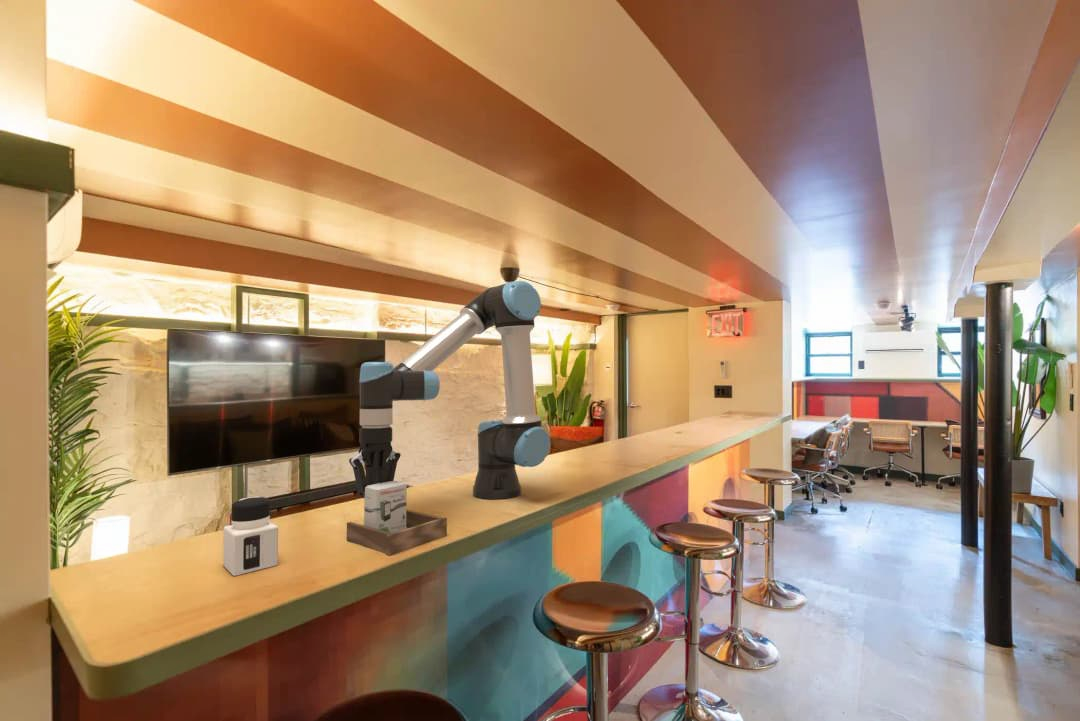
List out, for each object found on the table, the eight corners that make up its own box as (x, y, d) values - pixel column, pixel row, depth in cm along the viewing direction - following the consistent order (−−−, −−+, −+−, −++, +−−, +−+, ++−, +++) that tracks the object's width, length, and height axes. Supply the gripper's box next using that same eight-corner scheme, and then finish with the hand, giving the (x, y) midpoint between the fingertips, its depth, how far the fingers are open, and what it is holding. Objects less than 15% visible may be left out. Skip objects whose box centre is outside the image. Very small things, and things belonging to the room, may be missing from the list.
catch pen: (402, 524, 123) (402, 507, 124) (446, 535, 114) (446, 517, 114) (344, 541, 111) (344, 523, 111) (388, 555, 101) (388, 536, 101)
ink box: (375, 542, 109) (376, 489, 110) (362, 538, 112) (363, 486, 113) (407, 532, 116) (407, 482, 117) (394, 528, 119) (394, 479, 120)
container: (278, 565, 96) (279, 498, 97) (233, 577, 91) (234, 506, 91) (265, 555, 102) (266, 492, 102) (222, 566, 96) (223, 499, 97)
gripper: (389, 423, 125) (388, 517, 124) (342, 427, 115) (341, 530, 114) (408, 425, 121) (407, 522, 120) (361, 429, 110) (360, 536, 109)
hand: (375, 525), depth 117 cm, fingers closed
